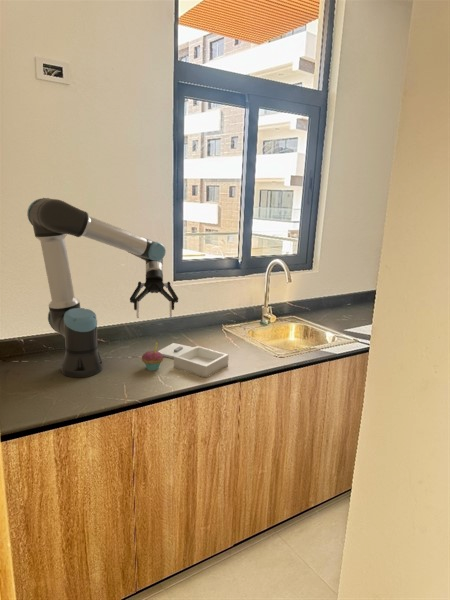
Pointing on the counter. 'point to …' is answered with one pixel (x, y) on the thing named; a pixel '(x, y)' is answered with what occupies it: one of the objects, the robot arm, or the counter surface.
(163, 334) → the counter surface
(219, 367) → the bin
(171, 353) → the bin lid
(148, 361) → the cupcake
